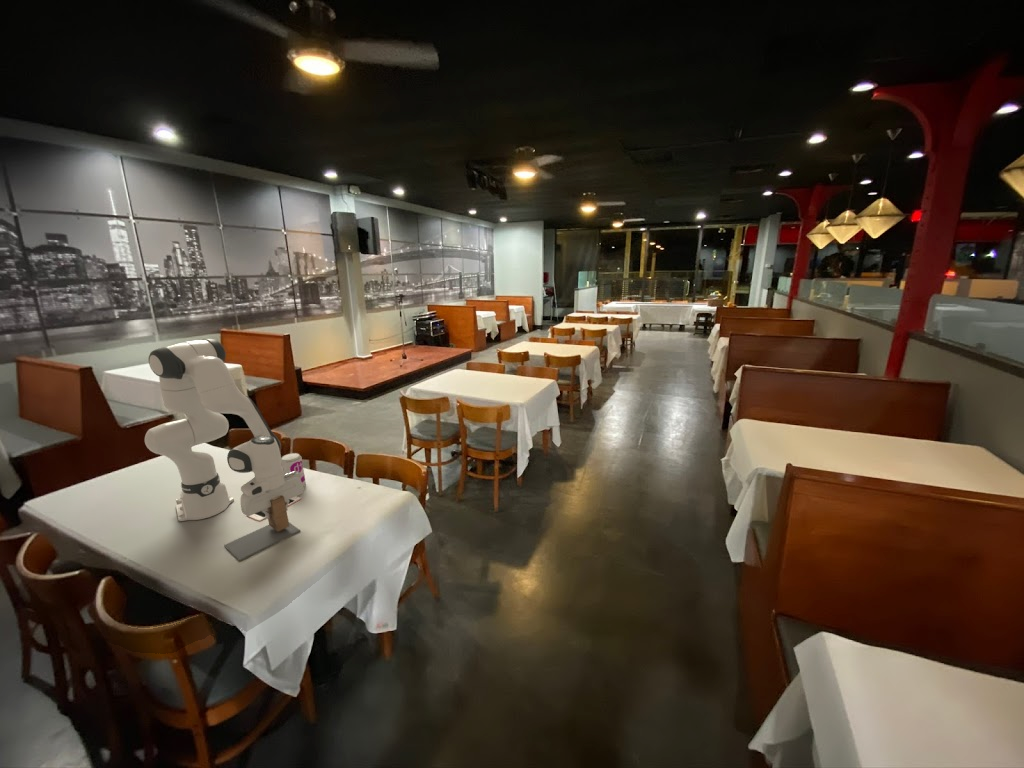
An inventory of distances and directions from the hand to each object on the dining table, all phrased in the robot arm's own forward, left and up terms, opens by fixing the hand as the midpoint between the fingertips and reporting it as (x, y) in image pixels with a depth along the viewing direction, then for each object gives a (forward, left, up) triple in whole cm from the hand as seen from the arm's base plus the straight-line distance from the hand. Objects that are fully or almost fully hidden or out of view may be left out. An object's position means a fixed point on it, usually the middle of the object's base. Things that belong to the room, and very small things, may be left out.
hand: (277, 514), depth 150 cm
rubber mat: (0, -6, -7) cm, 9 cm away
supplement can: (-27, +19, -7) cm, 34 cm away
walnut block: (0, 0, -5) cm, 5 cm away
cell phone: (-18, +6, -7) cm, 20 cm away
